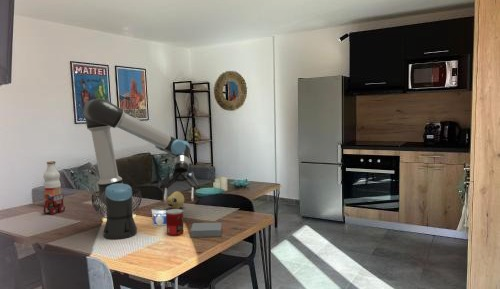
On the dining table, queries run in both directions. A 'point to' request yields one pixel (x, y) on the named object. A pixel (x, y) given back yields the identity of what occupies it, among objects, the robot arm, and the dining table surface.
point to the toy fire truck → (54, 204)
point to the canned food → (174, 222)
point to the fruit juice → (51, 181)
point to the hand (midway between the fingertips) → (178, 200)
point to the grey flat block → (206, 229)
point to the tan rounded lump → (175, 200)
